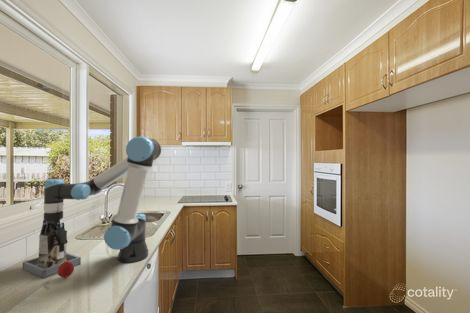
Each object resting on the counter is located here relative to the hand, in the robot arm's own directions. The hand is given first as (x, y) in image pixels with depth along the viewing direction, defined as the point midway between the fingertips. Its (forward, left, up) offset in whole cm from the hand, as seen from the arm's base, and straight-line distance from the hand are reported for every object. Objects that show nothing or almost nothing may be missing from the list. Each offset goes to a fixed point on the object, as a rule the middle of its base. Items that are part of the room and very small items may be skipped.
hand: (52, 255), depth 114 cm
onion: (-17, +3, -6) cm, 18 cm away
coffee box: (0, 0, -5) cm, 5 cm away
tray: (0, 0, -6) cm, 6 cm away
